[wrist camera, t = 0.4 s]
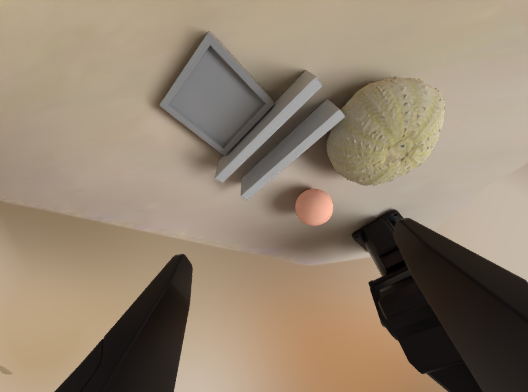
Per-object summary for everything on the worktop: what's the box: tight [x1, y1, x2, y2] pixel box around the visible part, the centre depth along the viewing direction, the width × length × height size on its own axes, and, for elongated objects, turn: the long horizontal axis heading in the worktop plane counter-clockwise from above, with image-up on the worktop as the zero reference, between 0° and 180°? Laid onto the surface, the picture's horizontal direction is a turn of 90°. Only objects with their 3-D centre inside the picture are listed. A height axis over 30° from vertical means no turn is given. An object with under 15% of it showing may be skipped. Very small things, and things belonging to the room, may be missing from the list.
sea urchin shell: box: [327, 77, 445, 186], centre depth 18 cm, size 9×8×8 cm
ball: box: [295, 189, 333, 226], centre depth 23 cm, size 4×4×4 cm
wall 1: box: [215, 70, 323, 183], centre depth 18 cm, size 1×11×3 cm, turn 135°
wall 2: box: [241, 99, 345, 200], centre depth 19 cm, size 1×11×3 cm, turn 135°
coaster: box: [159, 32, 275, 156], centre depth 17 cm, size 6×6×1 cm
